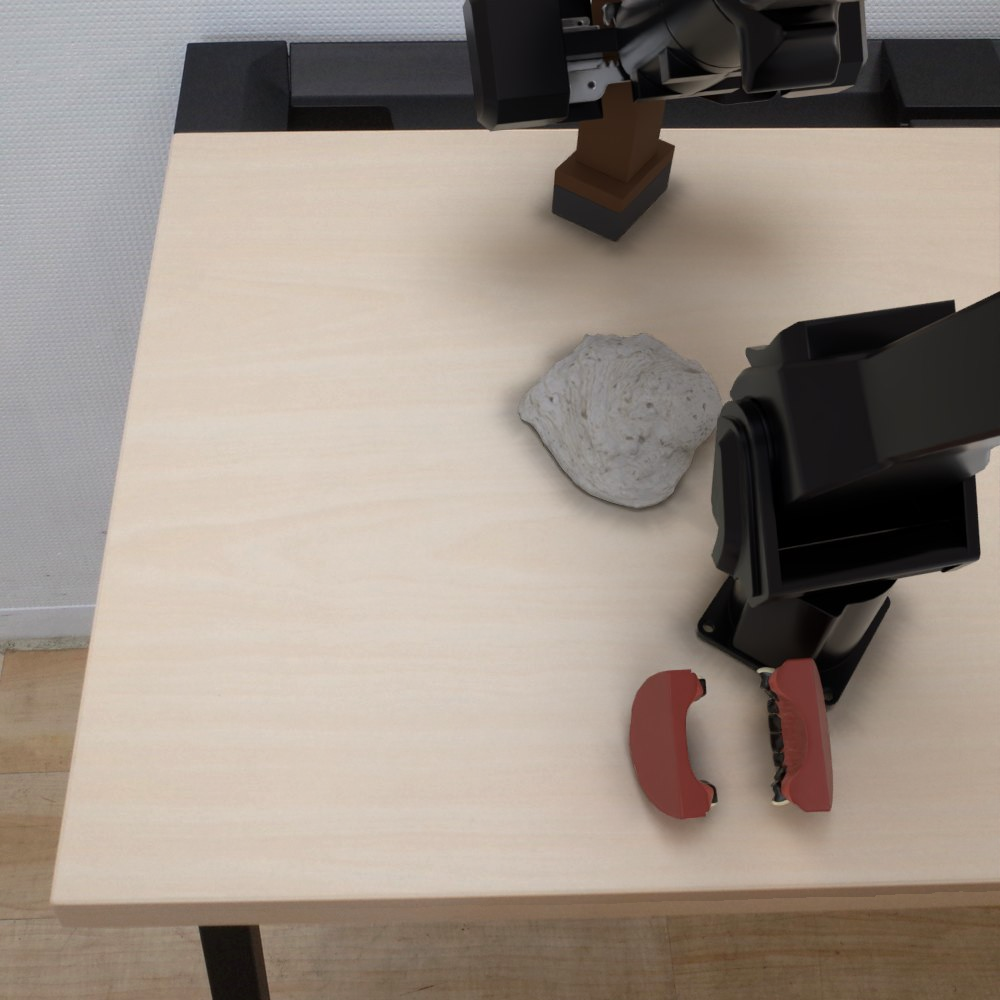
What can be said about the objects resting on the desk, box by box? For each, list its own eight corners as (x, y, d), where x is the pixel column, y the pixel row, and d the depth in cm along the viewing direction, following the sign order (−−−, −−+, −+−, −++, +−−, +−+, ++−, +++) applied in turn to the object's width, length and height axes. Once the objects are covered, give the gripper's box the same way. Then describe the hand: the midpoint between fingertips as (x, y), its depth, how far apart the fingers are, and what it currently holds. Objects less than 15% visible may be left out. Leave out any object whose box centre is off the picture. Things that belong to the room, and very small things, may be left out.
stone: (528, 302, 55) (729, 298, 53) (544, 368, 59) (732, 368, 56) (487, 447, 49) (710, 452, 47) (507, 511, 53) (716, 519, 50)
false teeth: (632, 811, 44) (830, 795, 44) (646, 826, 40) (865, 810, 40) (620, 670, 45) (814, 655, 45) (632, 671, 40) (847, 655, 41)
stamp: (616, 242, 62) (647, 28, 51) (550, 212, 63) (569, -3, 53) (667, 188, 65) (707, -26, 54) (604, 160, 66) (632, -53, 56)
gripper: (926, -239, 44) (766, -95, 59) (473, -211, 41) (427, -67, 56) (942, 51, 46) (783, 118, 61) (511, 97, 43) (457, 156, 58)
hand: (618, 78), depth 59 cm, fingers closed on stamp, 5 cm apart
